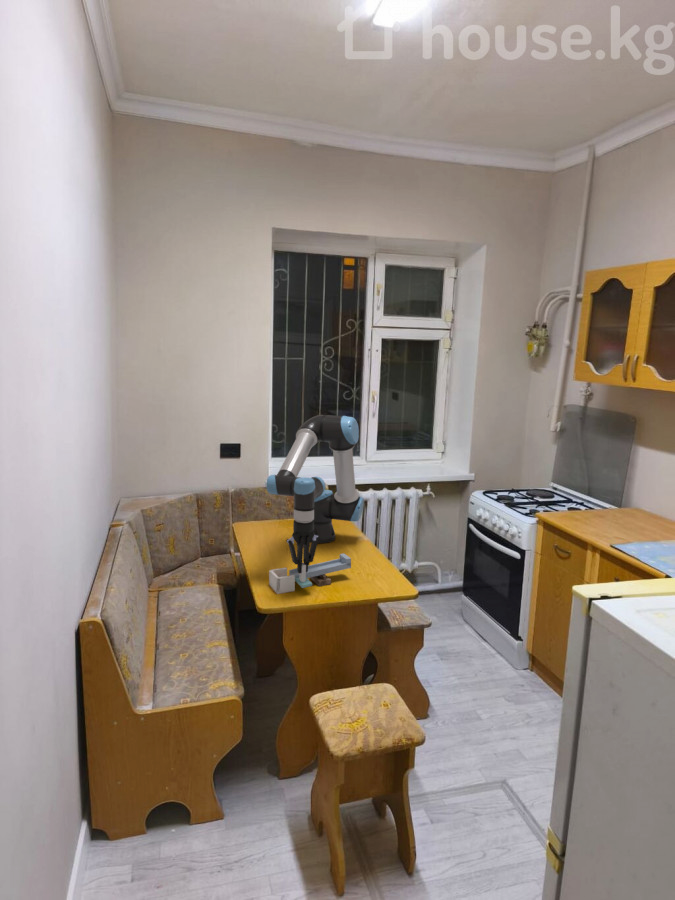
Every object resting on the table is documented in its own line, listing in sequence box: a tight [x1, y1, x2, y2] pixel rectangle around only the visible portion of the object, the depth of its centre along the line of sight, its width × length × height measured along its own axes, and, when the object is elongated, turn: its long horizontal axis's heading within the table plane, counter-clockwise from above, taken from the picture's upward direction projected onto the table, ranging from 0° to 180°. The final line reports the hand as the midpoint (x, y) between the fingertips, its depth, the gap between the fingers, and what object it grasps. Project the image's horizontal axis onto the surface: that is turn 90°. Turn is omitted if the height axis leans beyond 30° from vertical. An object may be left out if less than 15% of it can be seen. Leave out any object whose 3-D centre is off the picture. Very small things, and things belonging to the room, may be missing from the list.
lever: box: [288, 553, 352, 589], centre depth 225 cm, size 24×13×4 cm, turn 116°
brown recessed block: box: [309, 574, 332, 587], centre depth 229 cm, size 5×9×4 cm, turn 26°
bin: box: [268, 567, 296, 595], centre depth 222 cm, size 7×9×6 cm
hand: (302, 580), depth 218 cm, fingers closed
